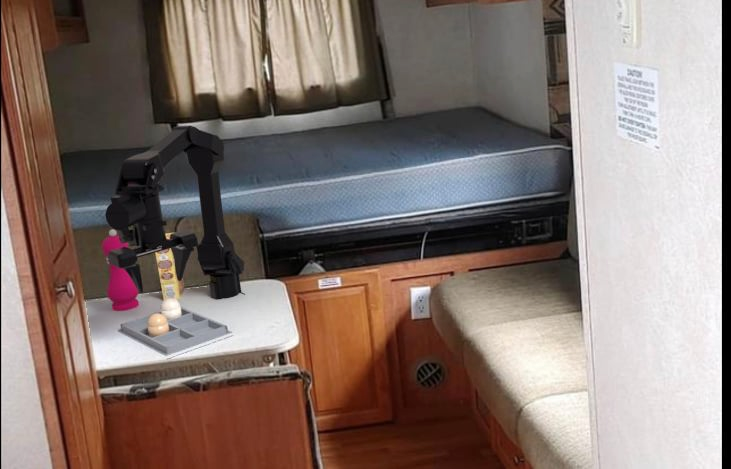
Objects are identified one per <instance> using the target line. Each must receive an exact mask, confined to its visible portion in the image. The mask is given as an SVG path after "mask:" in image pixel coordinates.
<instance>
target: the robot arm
mask: <svg viewBox="0 0 731 469" xmlns="http://www.w3.org/2000/svg"><path fill="white" fill-rule="evenodd" d="M224 145H225V144H224V142H223V140H222V139H221V138H220V137H219V136H218V135H217V134H213V133H210V132H207V131H204V130H201V129H199V128H197V127H196V126H193V125H177V126H174V127H173V128H172V129H171V131H170V132H169V133H168V134H167V135H166V136H164V137H163V138H162V139H161V140H159V141H158V142H157V143H156V144H155V145H153V146H152V147H151V148H150V149H148V150H147V151H145V152H143V153H138V154H134V155H132V156H130V157H127V158H126V159H125V160H124V161H123V163H122V164H121V168H120V172H119V176H118V180H117V185H116V188H115V196H112V197H110V201H111V202H110V204H109V205H108V206H107V207H106V209H105V214H104V216H105V219H106V222H107V224H108V225H109V227H111V228H112V229H114V230H116V231H117V234H118V236H119V240H120V242H121V244H124V243H127V242H128V246H129V247H134V246H135V247H136V248H134V249H133V248H129V247H128V248H127V247H122V248H118V249H115V250H111V251H110V252H109V254H108V260H109V264H111V265H114V266H116V267H118V268H122V269H124V270H125V271H126V272H127V273H128V274H129V276H130V277H131V279H132V281H133V283H134V284H135V286H136V288H137V289H138V291H139V293H140V294H143V293H144V286H143V281H142V280H143V279H142V274H141V272H142V271H141V268H140V267H141V266H140V264H139V263H137V261H138V258H141V257H144V256H147V255H151V254H155V252H159V251H162V250H166V249H169V248H171V251H172V253H173V255H174V262H175V270H176V276H177V280H178V281H181V280H182V277H183V276H184V273H185V269H186V266H187V263H188V260H189V258H190V255H191V254H192V252H194V251H195V247H196V253H197V261H198V263H199V266H200V268H201V270H202V274H203V276H209V279H210V281H209V282H208V284H209V289H210V290H209V292H210V298H211V299H214V300H216V301H217V300H223V299H231V298H234V297H236V296H238V295H239V294H241V295H244V296H246V293H244V292H242V287H241V278H240V275H242V274H243V272H244V270H245V261H244V260H243V259H242V258H241V257H240V256H239V255H238V254H237V253H236V251H235V247H234V242H233V240H232V239H231V238H230V236H228V234H227V233H226V229H225V221H224V212H223V211H224V210H223V204H222V195H221V194H222V193H221V186H220V176H219V171H220V169H221V167H222V165H223V163H224V160H225V159H224V158H225V157H224V155H225V154H224V151H225V146H224ZM181 153H184V154H186V158H187V163H188V165H189V166H190V168H191V169H192V170H193V172H194V173H195V175H196V178H197V188H198V189H197V190H198V196H199V204H200V213H201V222H202V230H203V236H202V238H201V241H199V237H198V234H197V233H195V232H193V231H189V230H186V229H184V230H180V231H177V232H171V233H172V234H171V235H170V239H167V238H166V229H165V228H166V227H165V226H168V224H167V220H165V219H164V216H163V211H162V206H161V205H162V204H161V200H160V193H161V192H162V191H164V189H165V187H164V186H162V185H161V184H159V182H160V180H161V179H162V178H163V177H164V175H165V168H166V166H168V165H169V164H170V163H171V162H172V161H174V159H176V157H178V156H179V155H180V154H181ZM129 227H132V229H129ZM160 246H161V247H160ZM157 247H158V248H157ZM109 264H108V265H109ZM183 278H184V277H183ZM139 293H138V294H139Z"/></svg>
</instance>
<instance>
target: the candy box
mask: <svg viewBox="0 0 731 469" xmlns="http://www.w3.org/2000/svg"><path fill="white" fill-rule="evenodd" d="M172 233H173V232H168V233H167V232H165V234H166V238H167V239H170V235H171V234H172ZM160 247H161V246H160ZM157 248H158V247H157ZM154 254H155V259H156V266H157V270H158V275H159V281H160V286H161V288H160V289H161V294H162V298H163V301H164V300H165V299H168V298H174V299H176V300H180V299H181V297H182V295H183V292H184V290H185V283H184V277H182V280H181V281H178V280H177V276H176V270H175V262H174V255H173V253H172V251H171V248H169V249H166V250H162V251H159V252H155V253H154Z"/></svg>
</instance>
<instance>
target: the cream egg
mask: <svg viewBox="0 0 731 469" xmlns="http://www.w3.org/2000/svg"><path fill="white" fill-rule="evenodd" d="M181 307H182V306H181V304H180V301H179V299H177V300H176V299H174V298H168V299H165V300H164V299H163V301H162V302H161V305H160V312H161V313H162V315H164V316H165V317H166V318H167V320H171V319H174V318H177V317H180V316H182V312H181Z"/></svg>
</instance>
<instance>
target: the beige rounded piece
mask: <svg viewBox="0 0 731 469" xmlns="http://www.w3.org/2000/svg"><path fill="white" fill-rule="evenodd" d="M155 313H156V314H154V313H152V314H153V315H151V314H150V315H151V316H150V317H149V319H148V321H147V327H148V332H149V337H151V338H153V337H156V336H159V335H162V334H165V333H168V332H169V325H168V320H167V318H166V317H165V316H164V315H162V314H159V313H157V312H155Z"/></svg>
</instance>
